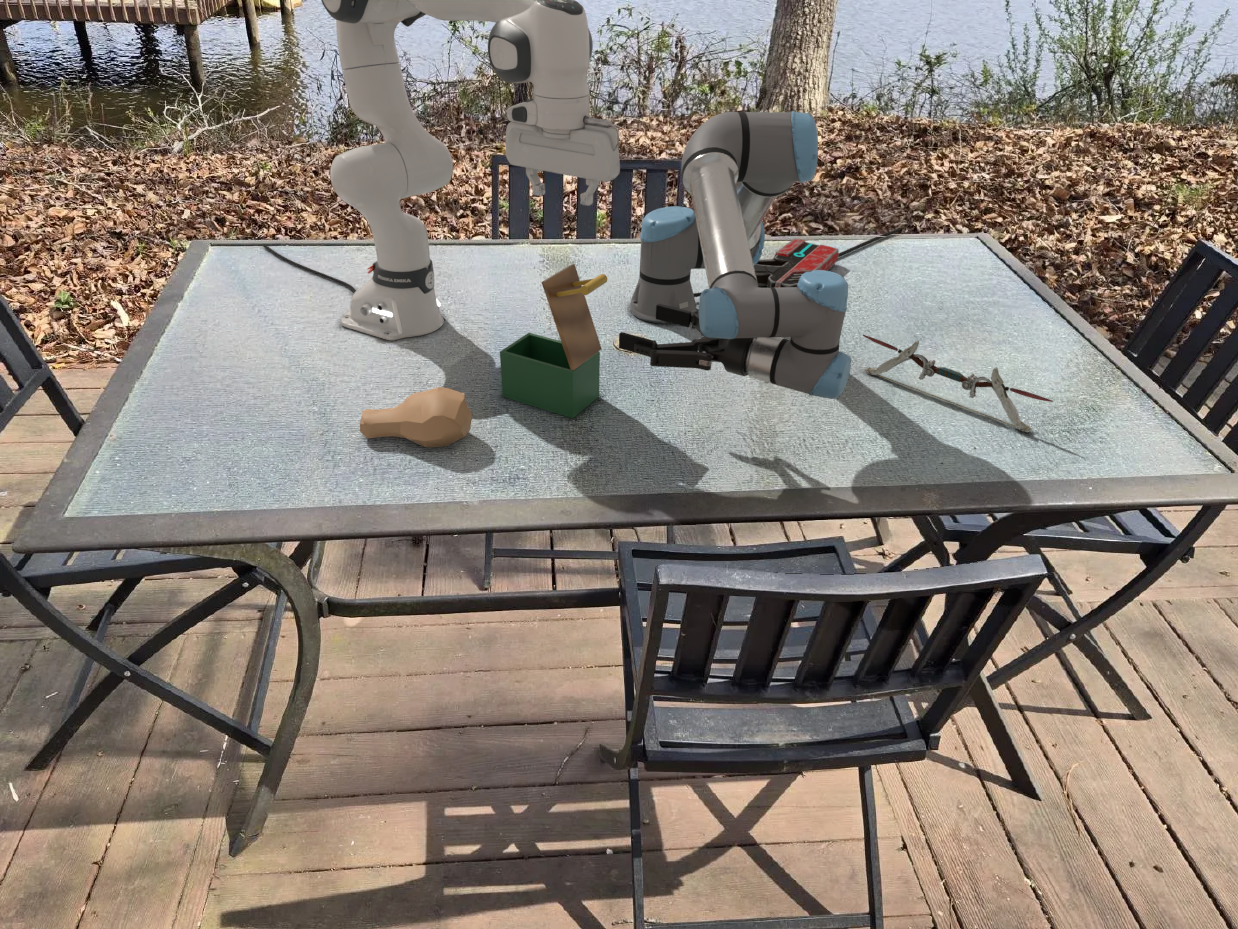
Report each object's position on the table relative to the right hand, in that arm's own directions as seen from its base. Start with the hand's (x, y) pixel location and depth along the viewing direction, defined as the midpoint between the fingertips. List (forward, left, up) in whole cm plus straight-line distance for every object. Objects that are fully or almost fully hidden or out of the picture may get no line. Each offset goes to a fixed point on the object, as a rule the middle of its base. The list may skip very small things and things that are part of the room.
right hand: (638, 325), depth 152 cm
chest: (0, -19, -20) cm, 27 cm away
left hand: (0, -15, +19) cm, 25 cm away
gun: (-85, -2, -20) cm, 88 cm away
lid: (0, -14, -2) cm, 14 cm away
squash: (+25, -30, -20) cm, 44 cm away
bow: (-39, +48, -20) cm, 65 cm away
